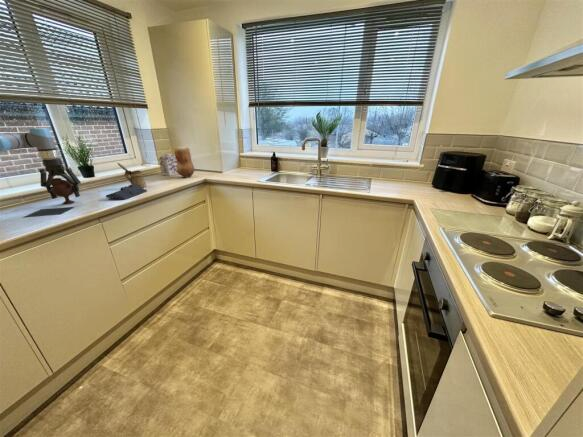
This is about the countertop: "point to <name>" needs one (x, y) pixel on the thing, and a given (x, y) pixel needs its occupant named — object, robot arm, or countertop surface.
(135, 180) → the tan handled pot
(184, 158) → the butternut squash
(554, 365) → the countertop surface
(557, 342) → the countertop surface
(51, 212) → the placemat
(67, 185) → the ice cream bowl
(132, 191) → the dark slate chunk
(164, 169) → the decorative jar
